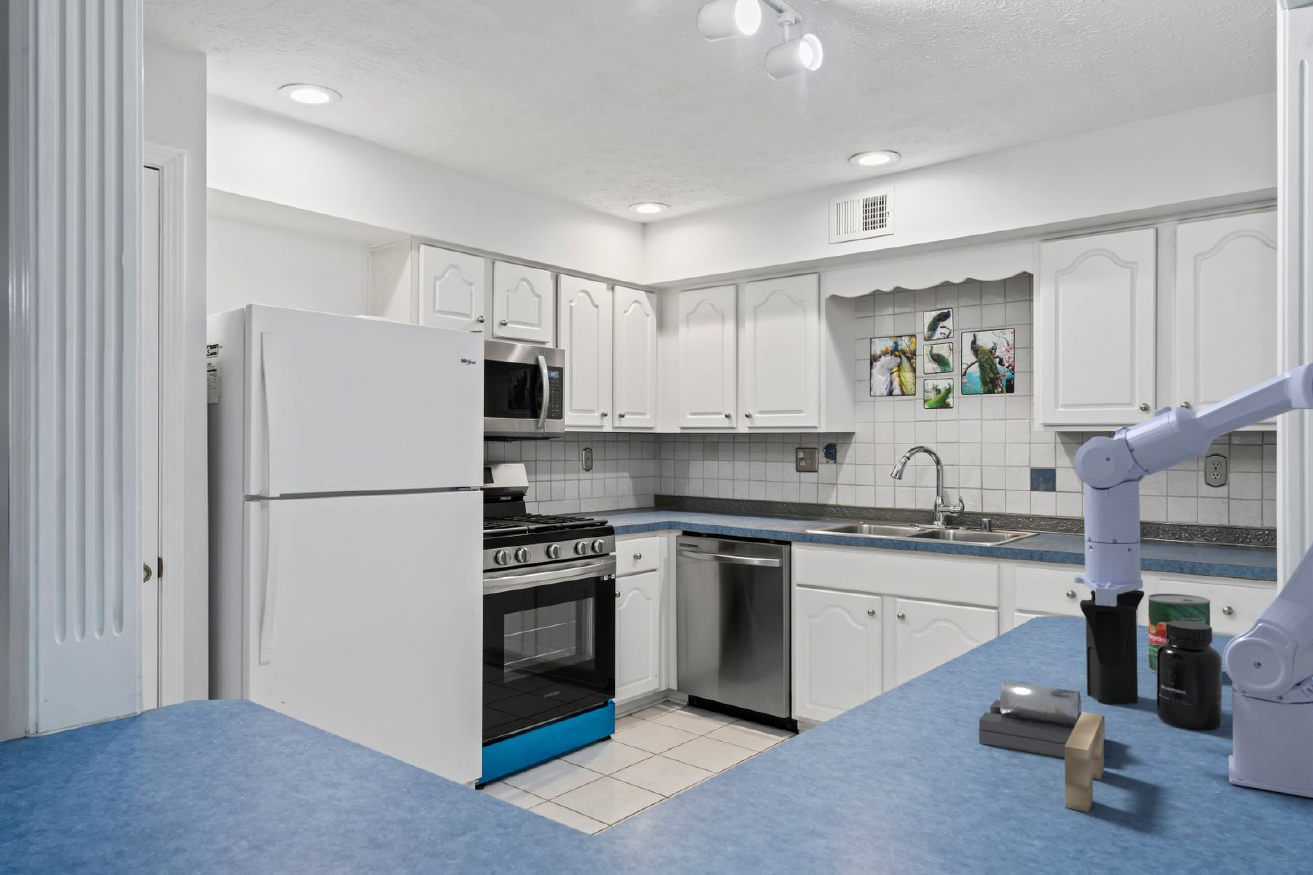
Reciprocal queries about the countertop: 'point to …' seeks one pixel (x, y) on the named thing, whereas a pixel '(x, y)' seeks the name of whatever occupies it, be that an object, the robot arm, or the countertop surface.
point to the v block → (1024, 733)
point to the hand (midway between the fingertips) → (1113, 657)
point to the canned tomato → (1172, 617)
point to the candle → (1112, 673)
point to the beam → (1083, 761)
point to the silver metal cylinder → (1040, 703)
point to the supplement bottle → (1189, 678)
